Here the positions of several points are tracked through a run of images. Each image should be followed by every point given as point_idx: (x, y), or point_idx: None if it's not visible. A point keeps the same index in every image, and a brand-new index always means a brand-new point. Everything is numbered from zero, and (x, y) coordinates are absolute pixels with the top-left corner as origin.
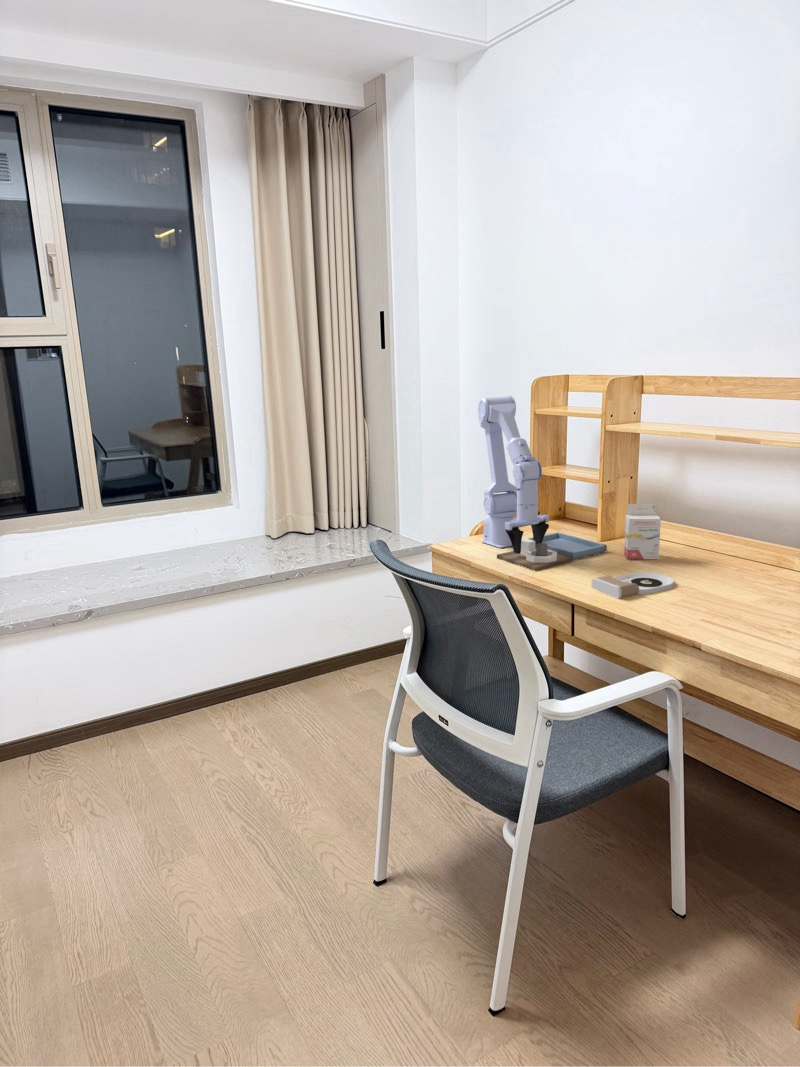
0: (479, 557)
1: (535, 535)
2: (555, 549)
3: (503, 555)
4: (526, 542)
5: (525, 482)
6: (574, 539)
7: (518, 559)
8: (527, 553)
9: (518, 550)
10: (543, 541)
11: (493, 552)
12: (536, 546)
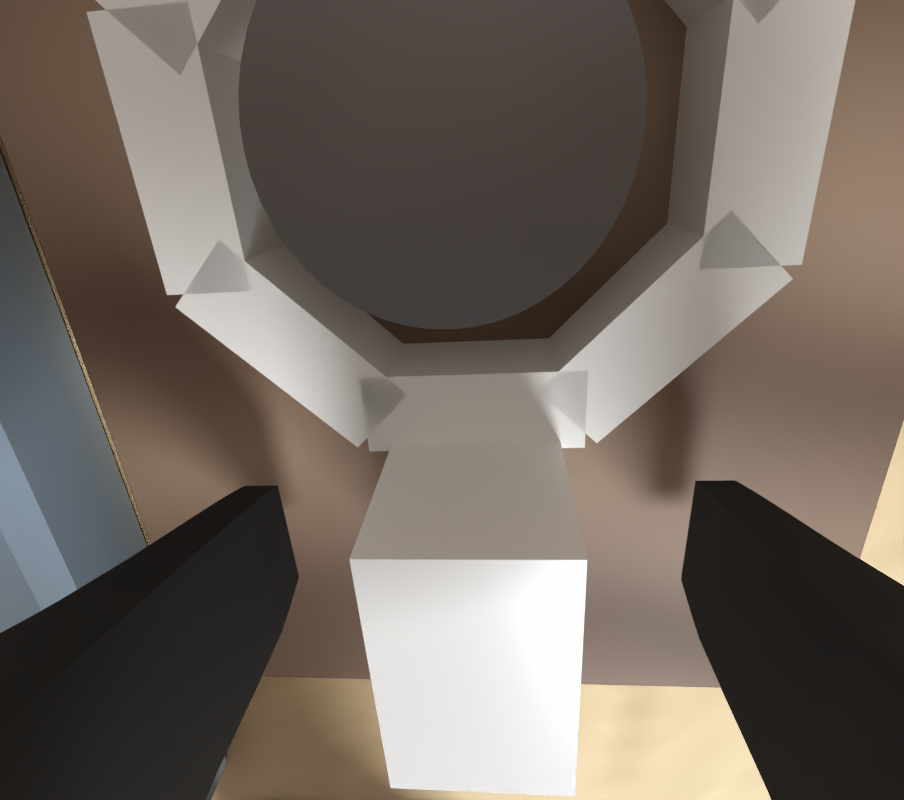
0: None
1: (172, 772)
2: (10, 377)
3: None
4: (581, 611)
5: None
6: None
7: (819, 356)
8: (703, 329)
9: (777, 513)
10: None
11: (640, 783)
12: (613, 199)
